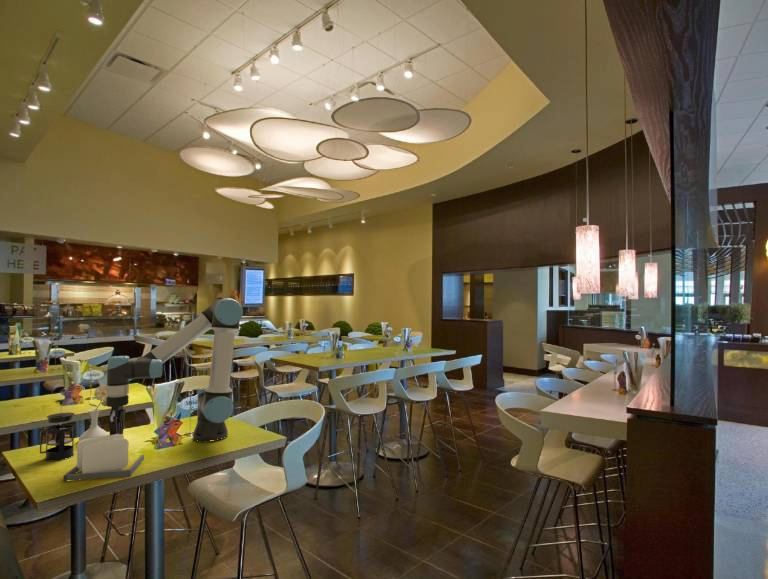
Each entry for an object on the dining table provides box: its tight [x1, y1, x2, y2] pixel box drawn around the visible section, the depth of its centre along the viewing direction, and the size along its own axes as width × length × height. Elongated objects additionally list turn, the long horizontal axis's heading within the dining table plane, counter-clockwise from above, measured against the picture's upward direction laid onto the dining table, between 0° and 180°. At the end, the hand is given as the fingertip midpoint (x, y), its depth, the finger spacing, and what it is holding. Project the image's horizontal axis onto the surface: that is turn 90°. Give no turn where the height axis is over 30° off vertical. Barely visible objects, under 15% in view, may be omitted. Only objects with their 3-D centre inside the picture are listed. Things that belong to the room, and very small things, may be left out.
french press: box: [39, 398, 75, 461], centre depth 178 cm, size 12×9×23 cm
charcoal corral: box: [62, 454, 145, 482], centre depth 163 cm, size 21×17×2 cm
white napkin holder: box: [76, 434, 130, 473], centre depth 163 cm, size 15×11×12 cm
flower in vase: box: [78, 384, 110, 442], centre depth 201 cm, size 13×11×25 cm
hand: (116, 455), depth 174 cm, fingers closed
